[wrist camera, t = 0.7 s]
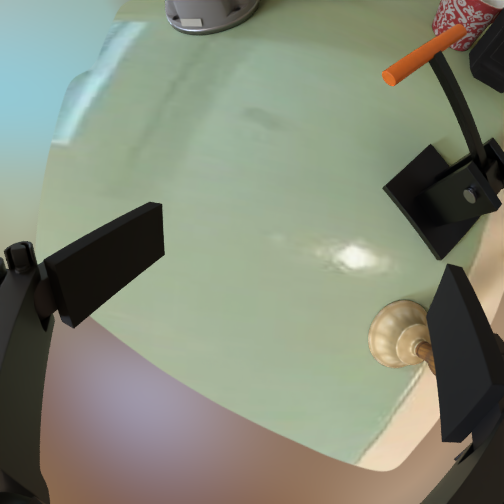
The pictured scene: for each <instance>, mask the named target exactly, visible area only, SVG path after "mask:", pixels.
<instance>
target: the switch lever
mask: <svg viewBox="0 0 504 504" xmlns="http://www.w3.org/2000/svg"><path fill="white" fill-rule="evenodd" d="M466 35H467V30H466V28H465V27H464V26H463V25H461V24H456V25H455V26H453V27H451V28H450V29H448V30H446V31H445V32H443V33H441V34H440V35H438V36H437V37H435V38H433V39H432V40H430V41H429V42H427V43H425V44H424V45H422V46H421V47H419V48H418V49H416V50H414V51H413V52H411V53H410V54H408V55H407V56H405V57H404V58H402V59H401V60H399V61H398V62H396V63H395V64H393V65H392V66H390V67H389V68H387V69H386V70H384V71H383V72H382V77H383V79H384V81H385V82H386V83H387V84H388V85H390V86H395V85H396V84H398V83H399V82H401V81H402V80H403V79H405V78H406V77H407V76H409V75H410V74H412V73H413V72H414V71H416V70H417V69H418V68H420V67H421V66H423V65H424V64H425V63H427V62H429V63H430V65H431V67H432V69H433V71H434V73H435V74H436V76H437V78H438V80H439V82H440V84H441V86H442V88H443V90H444V92H445V94H446V96H447V98H448V100H449V102H450V105H451V107H452V109H453V111H454V113H455V116H456V118H457V120H458V123H459V125H460V127H461V130H462V132H463V135H464V137H465V140H466V143H467V145H468V148H469V151H470V154H471V156H472V159H473V162H474V163H475V165H476V166H477V167H478V169H479V170H480V171H481V173H482V174H483V176H484V177H485V179H486V180H487V181H488V183H489V184H490V186H491V187H492V189H493V190H494V192H495V193H496V195H497V194H498V193H499V192H500V190H501V189H502V188H503V181H502V177H501V173H500V170H499V166H498V162H497V160H494V159H489V158H487V156H486V153H485V150H484V147H483V144H482V141H481V138H480V135H479V133H478V130H477V127H476V125H475V122H474V119H473V117H472V114H471V112H470V109H469V107H468V105H467V102H466V100H465V98H464V96H463V93H462V91H461V89H460V87H459V85H458V83H457V81H456V78H455V76H454V74H453V72H452V70H451V69H450V67H449V65H448V63H447V61H446V59H445V57H444V55H443V54H442V52H443V51H444V50H445V49H447V48H448V47H450V46H451V45H453V44H454V43H456V42H457V41H459V40H460V39H462V38H463V37H465V36H466Z"/></svg>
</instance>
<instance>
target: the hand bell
mask: <svg viewBox="0 0 504 504" xmlns="http://www.w3.org/2000/svg"><path fill="white" fill-rule="evenodd" d="M426 315H427V312H426V311H425V310H424V308H423V307H422V306H420V305H419V304H417V303H415V302H412V301H408V300H401V301H395V302H393V303H390V304H389V305H387V306H385V307H384V308H383V309H382V310H380V312H379V313H378V314H377V315H376V316H375V318H374V320H373V322H372V324H371V326H370V329H369V335H368V343H369V348H370V351H371V353H372V355H373V357H374V358H375V359H376V360H377V361H378V362H379V363H380V364H382V365H384V366H386V367H390V368H400V367H404V366H407V365H415V364H419V363H421V362H423V361H424V360H425V361H426V362H427V363H428V365H429V368H430V370H431V371H432V372H433V374H434V375H435V376H436V372H435V365H434V358H433V352H432V346H431V341H430V335H429V330H428V325H427V320H426Z"/></svg>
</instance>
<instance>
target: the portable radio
mask: <svg viewBox="0 0 504 504" xmlns="http://www.w3.org/2000/svg"><path fill="white" fill-rule="evenodd" d="M469 59H470V69H471V72H472V74H473V76H474V78H476V79H478V80H480V81H481V82H483V83H485V84H487V85H488V86H490V87H492V88H493V89H495V90H497V91H498V92H500V93H503V92H504V8H503V9H502V11H501V12H500V14H499V15H498V16H497V18H496V19H495V20H494V22H493V23H492V25H491V26H490V27H489V29H488V30H487V31H486V33H485V34H484V35H483V37H482V38H481V39H480V40H479V42H478V43H477V44H476V45H475V47H474V48H473V49H472V50H471V52H470V53H469Z"/></svg>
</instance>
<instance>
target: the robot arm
mask: <svg viewBox="0 0 504 504" xmlns="http://www.w3.org/2000/svg"><path fill="white" fill-rule="evenodd" d="M259 2H260V0H165V10H166V15H167V18H168V20H169V22H170V24H171V25H172V27H173V28H174V29H176V30H177V31H179V32H182V33H185V34H190V35H206V34H213V33H217V32H221V31H224V30H227V29H230V28H232V27H235V26H237V25H239V24H240V23H242V22H244V21H245V20H247V19H248V18H249V17H250V16H251V15H252V14H253V13H254V12H255V11H256V9H257V8H258V6H259ZM4 254H5V257H6V261H7V264H8V267H9V269H6V267H5V264H4V261H3V259H2V258H1V257H0V504H50V498H49V492H48V488H47V485H46V482H45V480H44V478H43V476H42V474H41V471H40V425H41V410H42V398H43V389H44V381H45V373H46V367H47V360H48V354H49V347H50V342H51V337H52V332H53V327H54V322H55V321H54V316H53V313H54V312H55V311H56V310H58V311H59V314H60V317H61V320H62V322H63V323H65V324H67V325H69V326H70V327H72V328H75V327H76V326H77V325H79V324H80V323H81V322H82V321H83V320H85V319H86V318H87V317H88V316H89V315H91V314H92V313H93V312H94V311H95V310H96V309H98V308H99V307H100V306H101V305H102V304H104V303H105V302H106V301H107V300H109V299H110V298H111V297H112V296H113V295H115V294H116V293H117V292H118V291H120V290H121V289H122V288H123V287H124V286H126V285H127V284H128V283H129V282H131V281H132V280H133V279H134V278H136V277H137V276H138V275H139V274H141V273H142V272H143V271H144V270H146V269H147V268H148V267H150V266H151V265H152V264H153V263H155V262H156V261H157V260H159V259H160V258H161V257H162V256H164V255H165V251H164V235H163V214H162V204H160V203H154V202H148V203H146V204H144V205H142V206H140V207H138V208H136V209H134V210H132V211H130V212H128V213H126V214H124V215H122V216H120V217H119V218H117V219H115V220H113V221H111V222H109V223H107V224H105V225H103V226H102V227H100V228H98V229H96V230H94V231H92V232H91V233H89V234H87V235H85V236H83V237H82V238H80V239H78V240H76V241H75V242H73V243H71V244H69V245H68V246H66V247H64V248H62V249H61V250H59V251H57V252H56V253H54V254H52V255H51V256H49V257H47V258H46V259H44V260H43V262H42V263H40V264H37V260H36V257H35V253H34V248H33V244H32V243H31V242H28V241H22V242H18V243H15V244H13V245H11V246H9V247H7V248H6V249H5V251H4ZM426 320H427V325H428V330H429V335H430V341H431V346H432V352H433V358H434V365H435V372H436V379H437V387H438V396H439V407H440V419H441V435H442V442H457V443H461V442H462V441H463V440H464V439H465V438H466V437H467V436H468V435H469V434H470V433H471V432H472V439H473V442H472V443H471V444H470V445H469V446H468V447H467V448H466V449H465V450H463V452H461V453H460V454H459V455H458V456H457V457H456V458H455V459H454V460H455V461H456V460H457V461H456V463H455V464H454V465H453V466H452V468H451V469H450V471H448V473H447V474H446V475H445V476H444V478H443V479H442V480H441V481H440V482H439V483H438V485H437V486H436V487H435V488H434V489H433V490H432V491H431V492H430V494H429V495H428V496H427V497H426V498H425V499H424V500H423V501H422V502H421V503H420V504H504V342H503V340H502V339H501V338H500V336H499V335H498V334H495V333H493V331H492V329H491V327H490V324H489V322H488V320H487V317H486V315H485V313H484V311H483V308H482V306H481V304H480V302H479V300H478V298H477V296H476V294H475V292H474V289H473V287H472V285H471V283H470V282H469V280H468V278H467V276H466V274H465V272H464V270H463V268H462V267H459V266H455V265H451V264H447V266H446V268H445V271H444V274H443V276H442V279H441V282H440V284H439V287H438V289H437V292H436V294H435V296H434V299H433V301H432V304H431V306H430V308H429V311H428V313H427V315H426Z"/></svg>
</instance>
